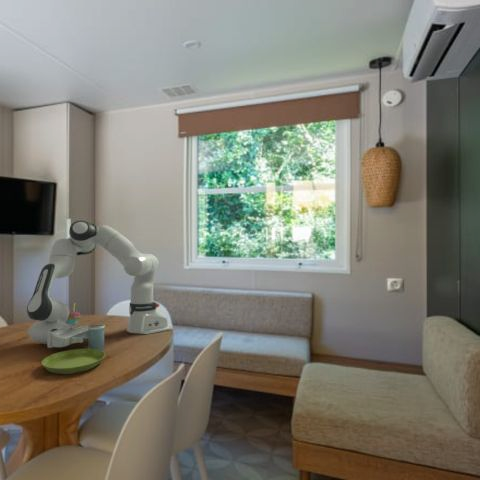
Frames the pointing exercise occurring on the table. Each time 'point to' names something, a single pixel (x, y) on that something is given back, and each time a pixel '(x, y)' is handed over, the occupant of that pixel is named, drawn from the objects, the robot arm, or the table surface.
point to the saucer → (73, 361)
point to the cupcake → (73, 317)
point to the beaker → (96, 337)
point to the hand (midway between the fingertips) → (91, 336)
